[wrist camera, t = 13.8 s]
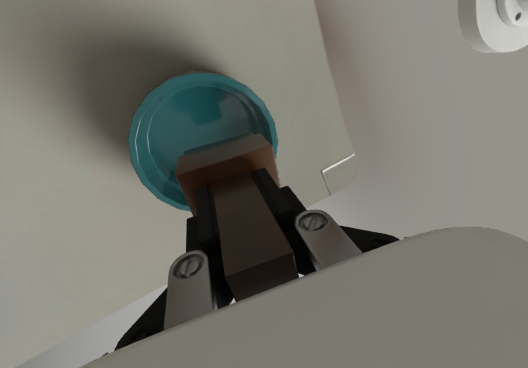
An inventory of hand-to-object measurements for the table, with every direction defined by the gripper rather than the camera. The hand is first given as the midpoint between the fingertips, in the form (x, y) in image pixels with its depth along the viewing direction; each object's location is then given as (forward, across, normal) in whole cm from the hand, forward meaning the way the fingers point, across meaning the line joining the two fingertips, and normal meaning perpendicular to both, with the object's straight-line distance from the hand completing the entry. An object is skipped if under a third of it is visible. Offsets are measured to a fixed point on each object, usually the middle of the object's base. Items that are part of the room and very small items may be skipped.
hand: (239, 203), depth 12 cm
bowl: (+17, +1, +1) cm, 17 cm away
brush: (+4, 0, 0) cm, 4 cm away
